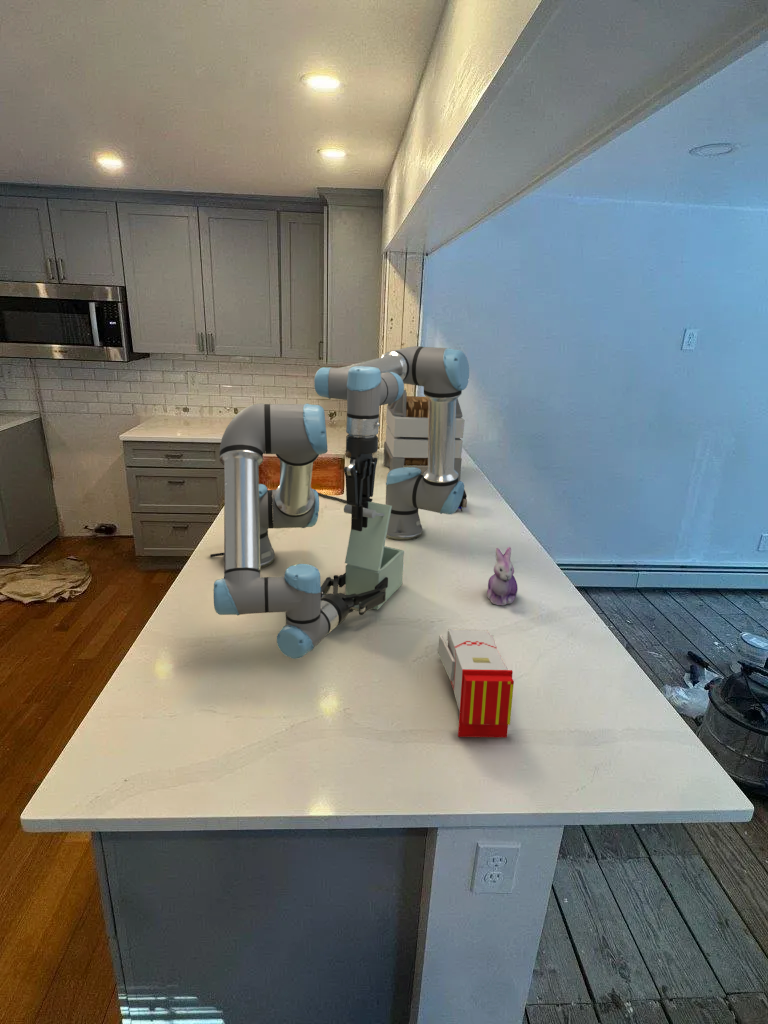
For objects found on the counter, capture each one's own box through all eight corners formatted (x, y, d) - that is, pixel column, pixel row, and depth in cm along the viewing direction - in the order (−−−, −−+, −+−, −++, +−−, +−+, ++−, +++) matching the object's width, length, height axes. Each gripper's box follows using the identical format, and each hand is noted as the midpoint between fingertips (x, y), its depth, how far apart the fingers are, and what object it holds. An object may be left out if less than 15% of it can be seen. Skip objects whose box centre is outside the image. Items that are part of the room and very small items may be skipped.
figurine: (499, 610, 151) (506, 558, 146) (476, 593, 160) (482, 544, 155) (527, 603, 156) (534, 553, 151) (503, 587, 164) (509, 539, 159)
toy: (488, 613, 130) (523, 677, 101) (484, 667, 133) (517, 744, 104) (435, 612, 130) (455, 676, 101) (432, 666, 133) (451, 743, 103)
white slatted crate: (382, 463, 289) (386, 382, 275) (445, 464, 293) (451, 384, 279) (390, 482, 257) (394, 392, 243) (460, 483, 261) (468, 394, 247)
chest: (372, 576, 167) (372, 543, 163) (402, 584, 163) (404, 550, 159) (345, 601, 153) (345, 565, 149) (377, 610, 149) (378, 573, 145)
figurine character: (467, 516, 223) (461, 500, 237) (469, 499, 220) (463, 483, 233) (450, 516, 223) (446, 499, 236) (452, 498, 220) (447, 483, 233)
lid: (358, 499, 149) (342, 497, 140) (392, 505, 145) (377, 504, 136) (346, 563, 149) (330, 564, 141) (379, 571, 146) (364, 573, 137)
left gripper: (286, 616, 139) (332, 580, 158) (368, 640, 130) (406, 599, 149) (286, 588, 136) (333, 556, 155) (369, 611, 127) (408, 574, 147)
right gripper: (361, 442, 125) (358, 541, 133) (390, 431, 138) (385, 521, 146) (332, 438, 128) (330, 534, 136) (362, 427, 141) (360, 516, 149)
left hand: (369, 577), depth 152 cm, fingers closed on chest, 10 cm apart
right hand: (359, 528), depth 141 cm, fingers closed on lid, 2 cm apart
